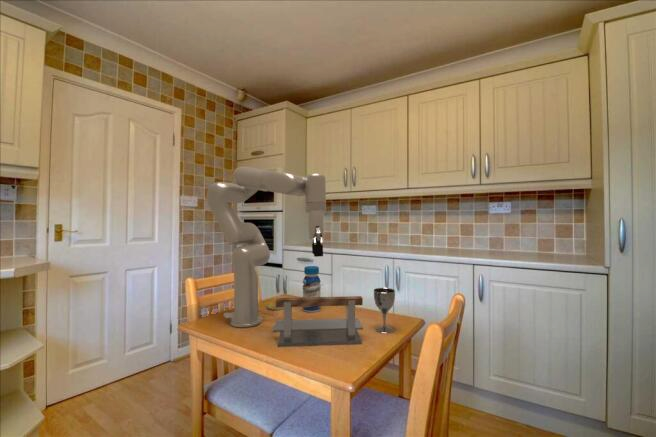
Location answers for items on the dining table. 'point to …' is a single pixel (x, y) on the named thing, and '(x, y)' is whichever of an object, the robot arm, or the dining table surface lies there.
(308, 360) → the dining table surface
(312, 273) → the beverage bottle
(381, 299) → the wine glass
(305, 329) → the grey mat
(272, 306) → the bread roll
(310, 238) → the robot arm
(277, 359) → the dining table surface
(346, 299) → the walnut rail
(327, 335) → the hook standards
